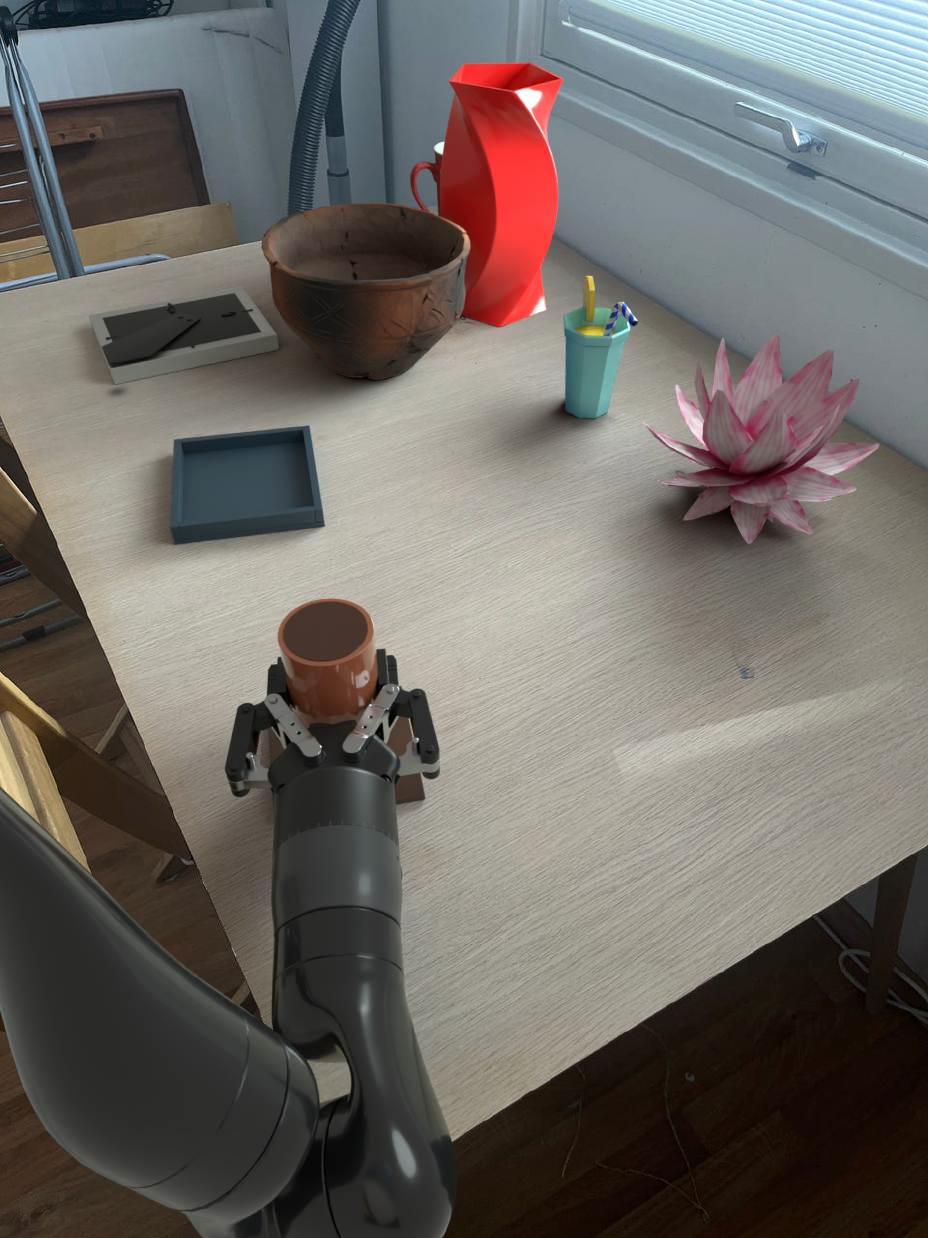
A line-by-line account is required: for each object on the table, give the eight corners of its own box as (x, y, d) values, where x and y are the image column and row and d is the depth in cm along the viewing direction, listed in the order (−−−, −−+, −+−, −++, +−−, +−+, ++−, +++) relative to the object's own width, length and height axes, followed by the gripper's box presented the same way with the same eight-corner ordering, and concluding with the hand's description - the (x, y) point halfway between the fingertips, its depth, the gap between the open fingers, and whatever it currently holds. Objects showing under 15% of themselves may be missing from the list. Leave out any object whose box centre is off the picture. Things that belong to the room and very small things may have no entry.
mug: (484, 227, 144) (487, 136, 134) (496, 249, 137) (499, 155, 128) (408, 232, 142) (405, 140, 133) (416, 254, 136) (413, 160, 126)
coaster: (275, 825, 63) (274, 822, 63) (267, 709, 71) (266, 706, 71) (425, 799, 65) (425, 796, 65) (402, 688, 73) (401, 685, 72)
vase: (555, 322, 120) (576, 89, 100) (452, 332, 117) (452, 95, 98) (524, 276, 130) (537, 57, 111) (429, 285, 128) (425, 62, 108)
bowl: (509, 346, 115) (515, 228, 104) (388, 429, 100) (381, 301, 90) (364, 296, 125) (356, 183, 114) (236, 364, 111) (213, 243, 100)
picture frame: (114, 384, 107) (279, 349, 114) (108, 363, 105) (276, 328, 112) (92, 329, 117) (245, 300, 124) (86, 309, 115) (241, 280, 122)
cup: (647, 435, 100) (670, 308, 89) (585, 447, 98) (601, 320, 88) (593, 376, 109) (608, 256, 99) (535, 387, 107) (545, 265, 97)
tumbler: (283, 758, 67) (256, 638, 58) (338, 705, 71) (321, 585, 62) (348, 799, 64) (331, 679, 55) (401, 741, 68) (393, 621, 59)
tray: (174, 544, 85) (169, 527, 84) (177, 455, 96) (173, 438, 95) (324, 526, 88) (322, 509, 86) (311, 441, 99) (309, 424, 97)
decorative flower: (776, 431, 101) (814, 304, 90) (891, 545, 86) (953, 411, 76) (604, 460, 96) (623, 330, 86) (695, 586, 82) (731, 449, 71)
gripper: (457, 817, 50) (430, 615, 62) (200, 843, 49) (223, 631, 61) (457, 883, 55) (432, 685, 67) (225, 908, 54) (241, 702, 66)
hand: (333, 660), depth 64 cm, fingers closed on tumbler, 6 cm apart
